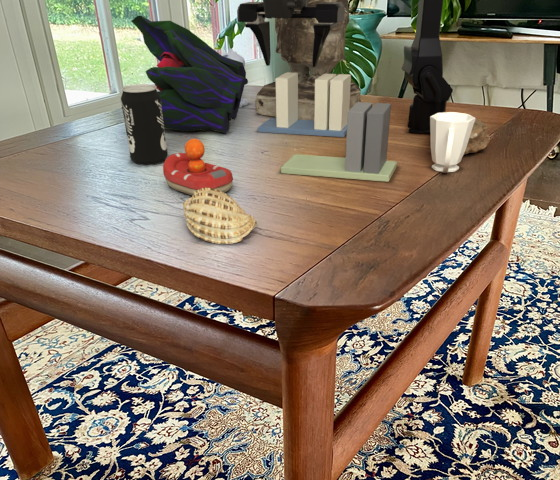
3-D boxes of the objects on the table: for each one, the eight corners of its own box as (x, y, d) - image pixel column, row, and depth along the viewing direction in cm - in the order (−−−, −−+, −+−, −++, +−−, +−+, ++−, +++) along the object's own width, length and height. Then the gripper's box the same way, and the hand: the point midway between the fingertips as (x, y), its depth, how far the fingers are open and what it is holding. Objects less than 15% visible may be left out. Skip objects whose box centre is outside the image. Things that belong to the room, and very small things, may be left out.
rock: (489, 162, 99) (495, 131, 96) (425, 159, 102) (429, 128, 99) (486, 142, 110) (491, 113, 107) (428, 139, 112) (431, 111, 109)
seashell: (248, 241, 81) (181, 210, 80) (265, 203, 78) (196, 170, 76) (240, 265, 75) (167, 232, 73) (258, 225, 72) (182, 189, 70)
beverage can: (160, 167, 101) (150, 91, 94) (125, 165, 102) (112, 90, 95) (173, 156, 106) (164, 84, 99) (139, 154, 107) (128, 83, 100)
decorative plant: (217, 184, 121) (85, 138, 122) (260, 108, 133) (138, 66, 134) (219, 99, 103) (63, 45, 104) (268, 18, 114) (128, -28, 116)
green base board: (396, 167, 98) (402, 103, 92) (388, 182, 92) (394, 114, 86) (294, 159, 103) (294, 98, 97) (280, 173, 97) (279, 108, 91)
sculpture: (254, 114, 132) (247, -49, 114) (294, 101, 143) (294, -50, 125) (323, 124, 123) (328, -51, 106) (361, 109, 134) (370, -51, 117)
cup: (466, 163, 99) (475, 112, 94) (467, 181, 91) (476, 127, 87) (424, 161, 101) (430, 111, 96) (422, 179, 93) (428, 125, 88)
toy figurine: (240, 109, 137) (237, 51, 130) (217, 107, 139) (212, 50, 132) (254, 103, 142) (251, 47, 135) (231, 101, 144) (228, 46, 137)
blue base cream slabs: (352, 127, 121) (355, 74, 115) (343, 137, 114) (346, 81, 109) (270, 122, 125) (269, 71, 119) (258, 131, 119) (256, 78, 113)
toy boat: (193, 176, 96) (188, 127, 92) (241, 191, 90) (238, 139, 85) (156, 187, 92) (148, 137, 87) (204, 204, 85) (199, 151, 81)
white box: (298, 120, 123) (298, 72, 117) (288, 128, 117) (287, 78, 112) (286, 119, 123) (286, 72, 118) (276, 127, 118) (275, 78, 113)
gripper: (221, -33, 96) (228, 71, 106) (330, -35, 91) (327, 75, 101) (246, -35, 105) (250, 62, 114) (347, -37, 100) (343, 65, 109)
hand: (291, 66), depth 109 cm, fingers open, 9 cm apart
